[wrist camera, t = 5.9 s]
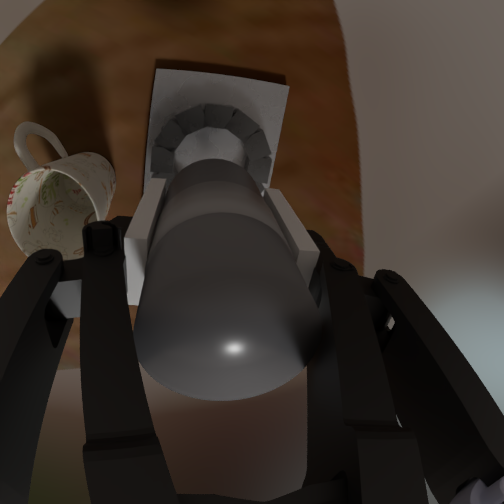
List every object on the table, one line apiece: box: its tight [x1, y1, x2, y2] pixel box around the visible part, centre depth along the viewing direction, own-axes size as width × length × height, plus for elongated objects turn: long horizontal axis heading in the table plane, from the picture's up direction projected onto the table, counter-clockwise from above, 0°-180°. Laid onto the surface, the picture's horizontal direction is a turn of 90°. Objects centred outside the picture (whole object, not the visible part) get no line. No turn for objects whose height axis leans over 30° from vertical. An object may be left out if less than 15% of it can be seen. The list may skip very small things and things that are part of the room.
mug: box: [7, 122, 116, 261], centre depth 23 cm, size 8×13×10 cm, turn 29°
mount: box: [144, 69, 289, 197], centre depth 28 cm, size 12×16×3 cm
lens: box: [133, 158, 322, 401], centre depth 12 cm, size 5×5×10 cm
